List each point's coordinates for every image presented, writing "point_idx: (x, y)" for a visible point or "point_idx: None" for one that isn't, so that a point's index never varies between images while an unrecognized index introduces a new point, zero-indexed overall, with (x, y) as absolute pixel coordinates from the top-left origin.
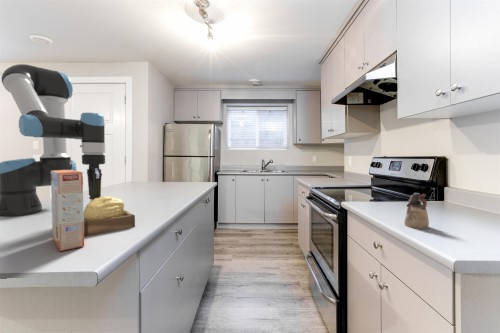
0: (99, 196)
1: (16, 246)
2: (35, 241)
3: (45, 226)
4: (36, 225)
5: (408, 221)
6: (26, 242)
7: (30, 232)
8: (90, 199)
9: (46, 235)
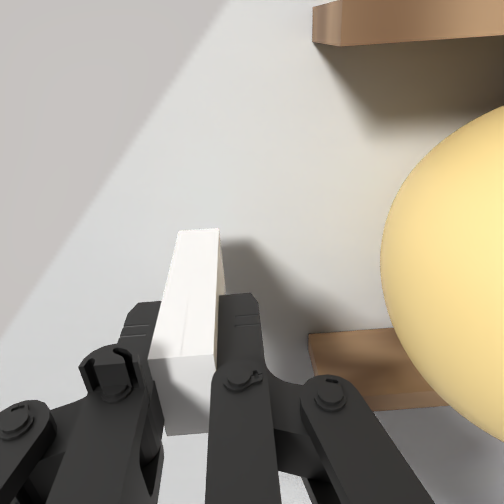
0: (354, 397)
1: (480, 495)
2: (471, 463)
3: (205, 452)
4: None
5: None
6: (455, 481)
7: (291, 483)
8: (183, 422)
9: (407, 442)
